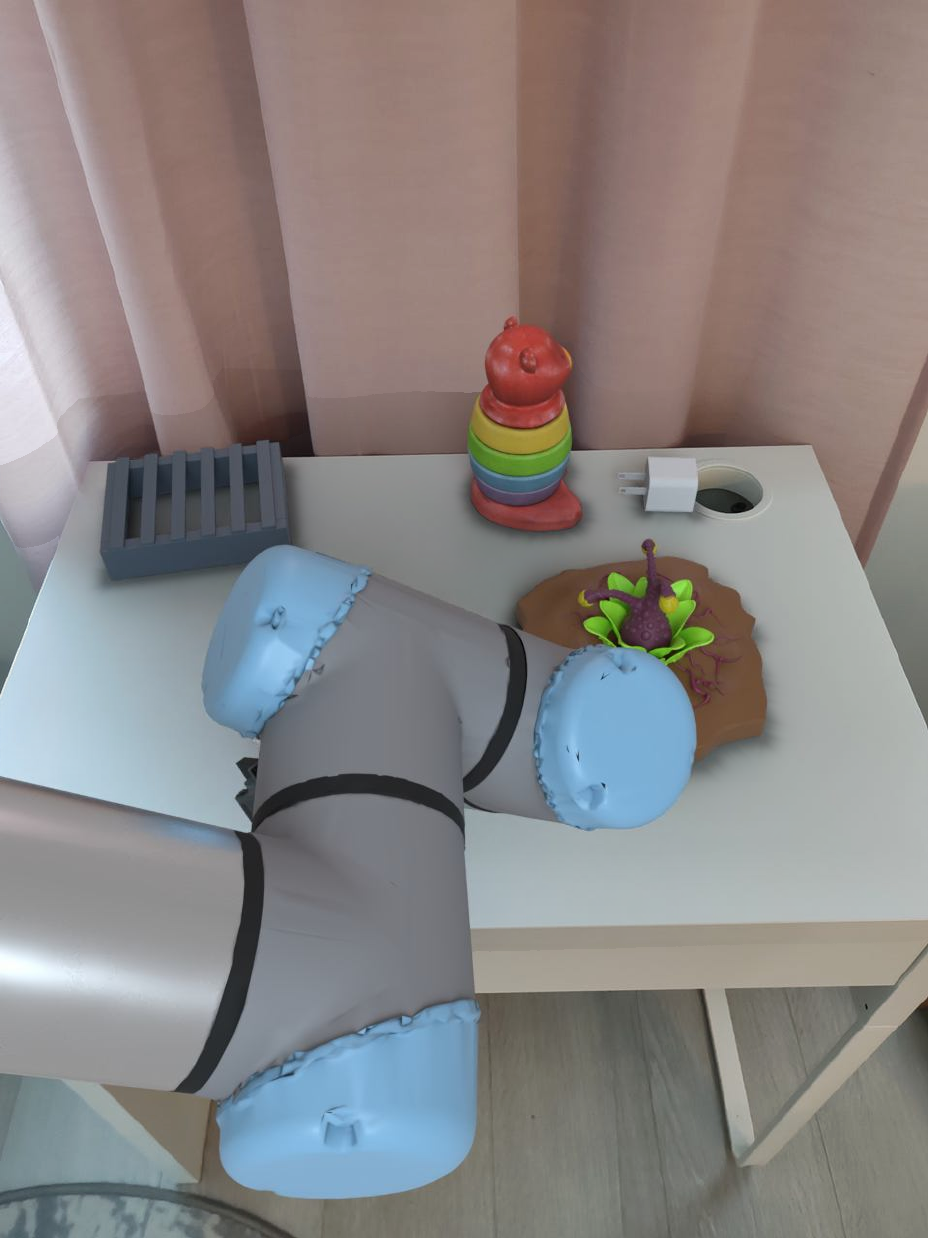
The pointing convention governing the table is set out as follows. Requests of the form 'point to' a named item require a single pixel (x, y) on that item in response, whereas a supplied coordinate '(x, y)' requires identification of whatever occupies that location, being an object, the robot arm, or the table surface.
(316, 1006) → the robot arm
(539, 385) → the stacking bear
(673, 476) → the usb wall charger
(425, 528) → the table surface
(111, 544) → the dish rack
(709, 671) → the plant
